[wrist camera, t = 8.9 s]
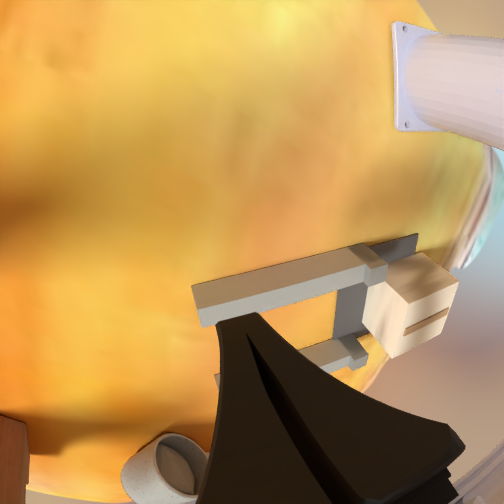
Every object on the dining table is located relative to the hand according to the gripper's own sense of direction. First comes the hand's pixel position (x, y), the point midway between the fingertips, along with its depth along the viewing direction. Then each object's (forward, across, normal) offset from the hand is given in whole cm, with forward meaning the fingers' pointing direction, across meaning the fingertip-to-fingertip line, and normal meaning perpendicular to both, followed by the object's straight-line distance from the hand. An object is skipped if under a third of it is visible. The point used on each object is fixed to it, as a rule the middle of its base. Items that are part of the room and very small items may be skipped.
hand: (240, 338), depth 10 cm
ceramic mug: (+10, +8, +26) cm, 29 cm away
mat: (+10, -14, +10) cm, 20 cm away
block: (+10, -16, +10) cm, 21 cm away
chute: (+10, -6, +10) cm, 15 cm away
